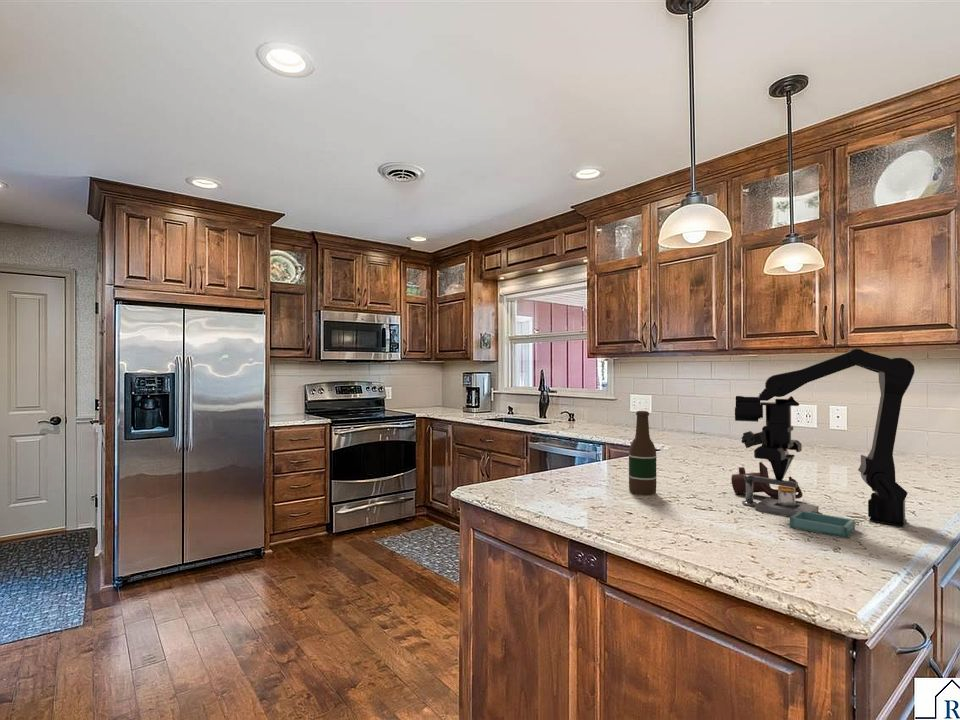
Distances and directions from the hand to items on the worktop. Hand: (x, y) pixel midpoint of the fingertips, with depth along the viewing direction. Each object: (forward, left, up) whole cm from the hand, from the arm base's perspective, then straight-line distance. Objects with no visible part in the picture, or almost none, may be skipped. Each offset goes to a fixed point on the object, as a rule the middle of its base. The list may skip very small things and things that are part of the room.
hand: (779, 481), depth 138 cm
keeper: (+2, +1, 0) cm, 2 cm away
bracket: (+7, -12, -8) cm, 16 cm away
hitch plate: (0, +1, -7) cm, 7 cm away
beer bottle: (+34, +9, -7) cm, 36 cm away
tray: (-12, +12, -7) cm, 18 cm away
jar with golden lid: (-2, +1, -7) cm, 7 cm away
